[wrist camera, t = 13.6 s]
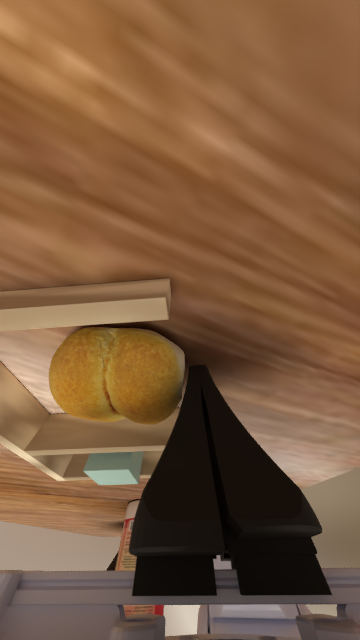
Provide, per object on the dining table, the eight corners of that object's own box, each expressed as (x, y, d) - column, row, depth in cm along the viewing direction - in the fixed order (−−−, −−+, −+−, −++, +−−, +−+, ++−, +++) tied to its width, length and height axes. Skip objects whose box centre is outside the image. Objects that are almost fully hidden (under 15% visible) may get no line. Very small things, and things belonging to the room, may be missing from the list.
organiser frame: (188, 443, 19) (189, 476, 16) (74, 447, 19) (57, 481, 17) (169, 278, 8) (165, 297, 6) (-78, 297, 9) (-185, 323, 6)
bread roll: (51, 320, 10) (-21, 366, 6) (185, 321, 10) (189, 367, 6) (88, 396, 14) (57, 450, 10) (183, 396, 14) (184, 449, 10)
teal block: (146, 436, 18) (138, 483, 15) (114, 437, 18) (99, 484, 15) (139, 418, 16) (128, 469, 13) (103, 420, 16) (82, 471, 13)
